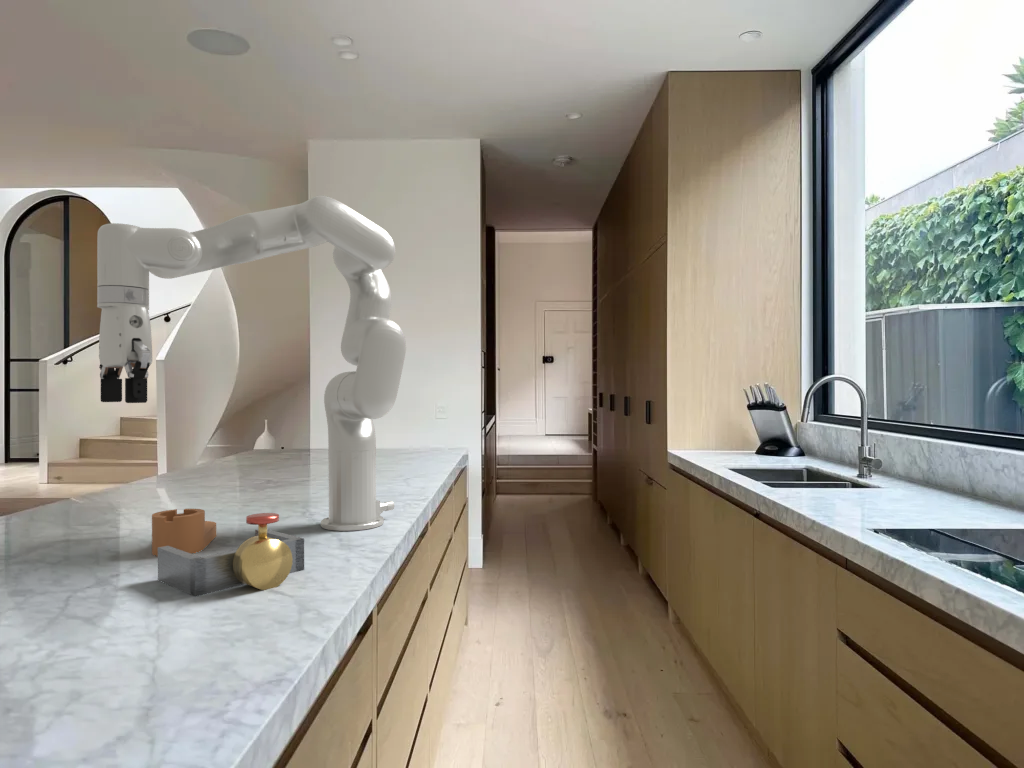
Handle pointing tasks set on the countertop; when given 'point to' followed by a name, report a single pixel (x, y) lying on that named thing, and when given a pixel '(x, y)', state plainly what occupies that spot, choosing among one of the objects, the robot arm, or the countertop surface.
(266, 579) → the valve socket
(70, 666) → the countertop surface
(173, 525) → the bracket
